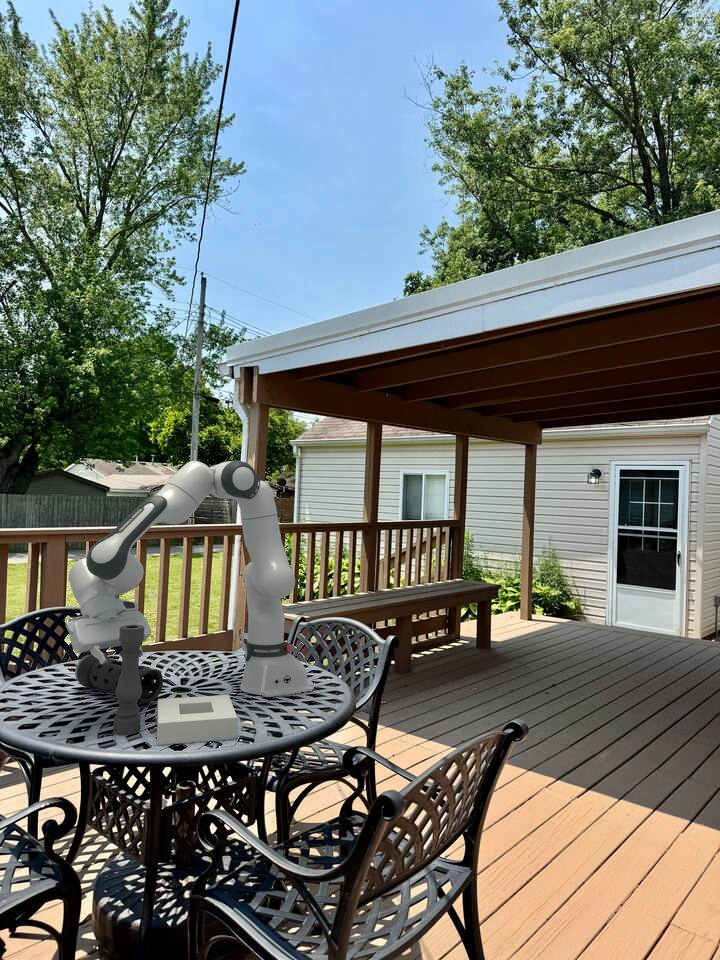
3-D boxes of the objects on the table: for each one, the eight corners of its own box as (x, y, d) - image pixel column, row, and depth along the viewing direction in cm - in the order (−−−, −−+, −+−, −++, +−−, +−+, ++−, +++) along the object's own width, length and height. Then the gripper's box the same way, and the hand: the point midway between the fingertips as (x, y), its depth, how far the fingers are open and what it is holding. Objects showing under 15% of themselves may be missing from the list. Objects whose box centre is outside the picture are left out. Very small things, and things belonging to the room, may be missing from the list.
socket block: (227, 713, 164) (228, 694, 164) (236, 738, 147) (237, 717, 147) (156, 718, 158) (158, 699, 158) (156, 745, 141) (158, 723, 141)
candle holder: (115, 726, 151) (120, 624, 153) (141, 725, 153) (146, 624, 154) (111, 735, 145) (116, 629, 147) (138, 734, 147) (144, 629, 148)
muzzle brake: (134, 711, 163) (136, 672, 164) (71, 691, 178) (73, 655, 178) (163, 702, 171) (165, 665, 172) (100, 684, 186) (102, 649, 186)
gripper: (68, 610, 148) (88, 658, 142) (142, 602, 165) (163, 644, 159) (57, 626, 151) (77, 674, 144) (131, 616, 167) (151, 659, 161)
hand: (122, 658), depth 152 cm, fingers open, 8 cm apart
